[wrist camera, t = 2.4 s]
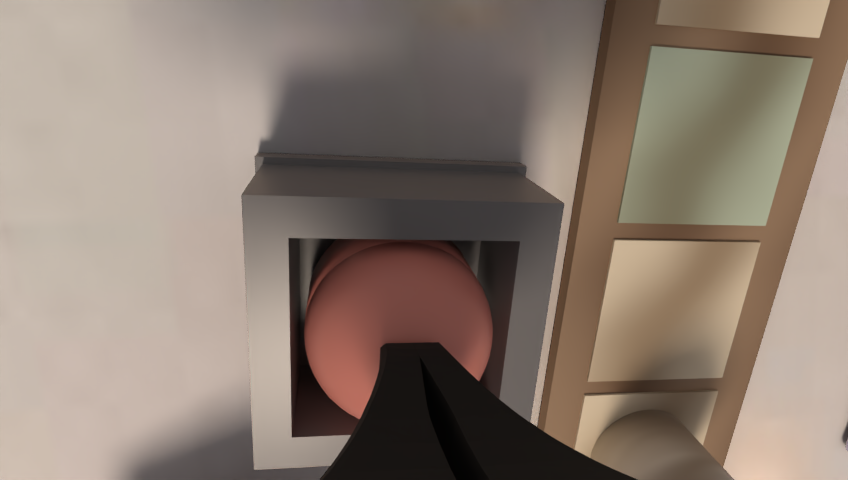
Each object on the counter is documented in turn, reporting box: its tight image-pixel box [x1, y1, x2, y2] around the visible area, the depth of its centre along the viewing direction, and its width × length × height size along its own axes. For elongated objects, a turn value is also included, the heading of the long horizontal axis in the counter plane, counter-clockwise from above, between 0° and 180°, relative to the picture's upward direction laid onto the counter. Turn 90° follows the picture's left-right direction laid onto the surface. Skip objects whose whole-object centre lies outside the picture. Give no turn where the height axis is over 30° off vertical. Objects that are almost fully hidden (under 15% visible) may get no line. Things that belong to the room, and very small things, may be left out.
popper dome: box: [304, 239, 493, 419], centre depth 14 cm, size 5×5×5 cm
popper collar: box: [242, 153, 564, 470], centre depth 16 cm, size 8×8×4 cm
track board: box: [538, 0, 848, 467], centre depth 18 cm, size 8×24×1 cm, turn 176°
